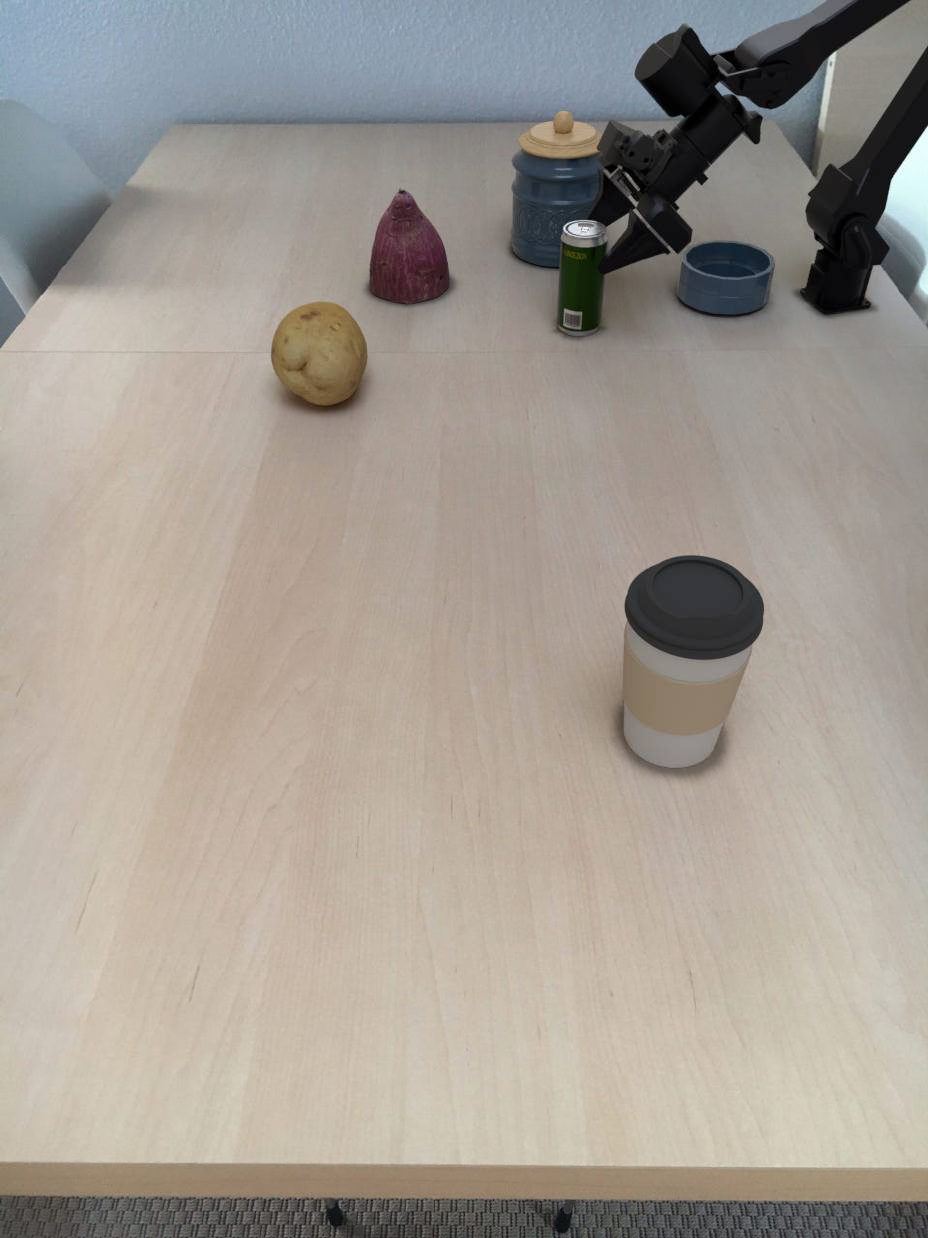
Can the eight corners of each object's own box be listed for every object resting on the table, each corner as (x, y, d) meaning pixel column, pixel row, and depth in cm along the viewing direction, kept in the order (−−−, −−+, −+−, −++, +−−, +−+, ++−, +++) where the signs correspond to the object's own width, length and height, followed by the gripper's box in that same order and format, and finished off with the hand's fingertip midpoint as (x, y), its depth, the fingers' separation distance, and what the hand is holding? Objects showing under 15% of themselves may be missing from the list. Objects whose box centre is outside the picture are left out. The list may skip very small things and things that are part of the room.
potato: (374, 362, 115) (366, 279, 108) (366, 421, 106) (358, 335, 99) (286, 363, 115) (273, 281, 108) (271, 423, 106) (256, 337, 99)
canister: (496, 261, 134) (497, 121, 122) (528, 224, 143) (532, 91, 131) (589, 275, 130) (599, 133, 118) (616, 237, 139) (628, 100, 127)
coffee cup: (599, 692, 77) (615, 542, 67) (713, 683, 78) (747, 533, 67) (622, 785, 71) (644, 636, 60) (746, 775, 71) (790, 625, 61)
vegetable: (438, 327, 128) (443, 228, 115) (360, 311, 128) (356, 211, 115) (456, 273, 133) (463, 173, 120) (382, 258, 134) (380, 157, 121)
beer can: (597, 339, 118) (605, 240, 110) (552, 335, 119) (557, 236, 111) (603, 318, 122) (611, 221, 113) (560, 314, 123) (565, 217, 114)
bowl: (741, 273, 130) (748, 235, 127) (783, 310, 122) (791, 271, 119) (662, 284, 128) (667, 246, 125) (699, 323, 120) (705, 284, 117)
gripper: (622, 68, 110) (523, 179, 116) (677, 121, 97) (562, 243, 103) (681, 137, 116) (584, 238, 123) (740, 196, 103) (628, 307, 109)
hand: (588, 254), depth 114 cm, fingers open, 9 cm apart
